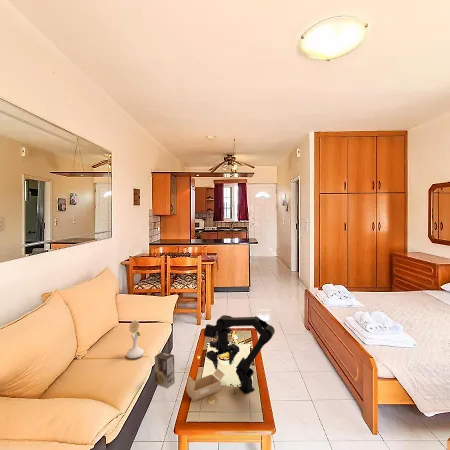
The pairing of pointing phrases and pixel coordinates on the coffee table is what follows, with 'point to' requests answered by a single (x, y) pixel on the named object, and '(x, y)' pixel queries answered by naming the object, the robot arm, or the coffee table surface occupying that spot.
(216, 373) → the inner flap
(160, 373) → the coffee box
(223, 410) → the coffee table surface
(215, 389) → the carton
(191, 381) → the outer flap
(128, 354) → the flower in vase
